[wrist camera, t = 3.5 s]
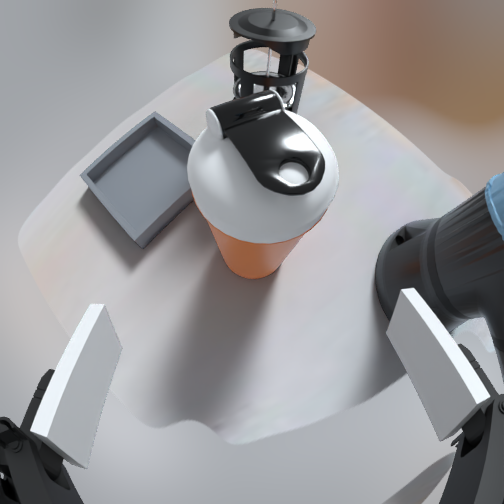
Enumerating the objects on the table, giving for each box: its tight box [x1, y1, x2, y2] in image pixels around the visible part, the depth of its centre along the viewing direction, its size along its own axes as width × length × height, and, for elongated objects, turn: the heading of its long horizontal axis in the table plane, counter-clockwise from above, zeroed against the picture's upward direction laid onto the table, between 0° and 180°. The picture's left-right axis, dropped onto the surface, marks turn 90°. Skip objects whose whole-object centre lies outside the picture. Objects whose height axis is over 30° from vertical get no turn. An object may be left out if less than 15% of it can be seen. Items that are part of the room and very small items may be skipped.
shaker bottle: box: [187, 89, 339, 279], centre depth 22 cm, size 9×9×20 cm
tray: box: [80, 112, 195, 249], centre depth 33 cm, size 14×14×3 cm
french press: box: [229, 0, 316, 114], centre depth 27 cm, size 12×9×23 cm
